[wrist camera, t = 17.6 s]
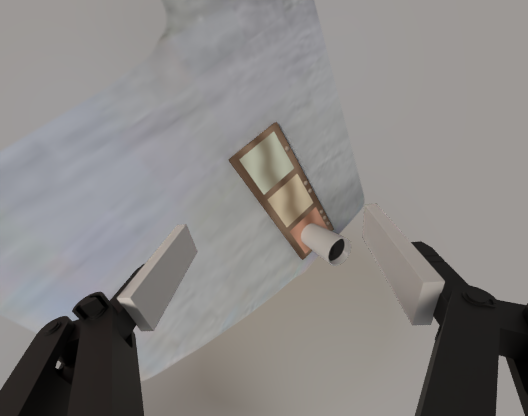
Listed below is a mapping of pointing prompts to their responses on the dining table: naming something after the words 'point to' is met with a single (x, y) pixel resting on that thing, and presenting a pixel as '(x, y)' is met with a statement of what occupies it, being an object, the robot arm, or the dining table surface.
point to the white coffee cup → (326, 244)
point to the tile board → (280, 186)
